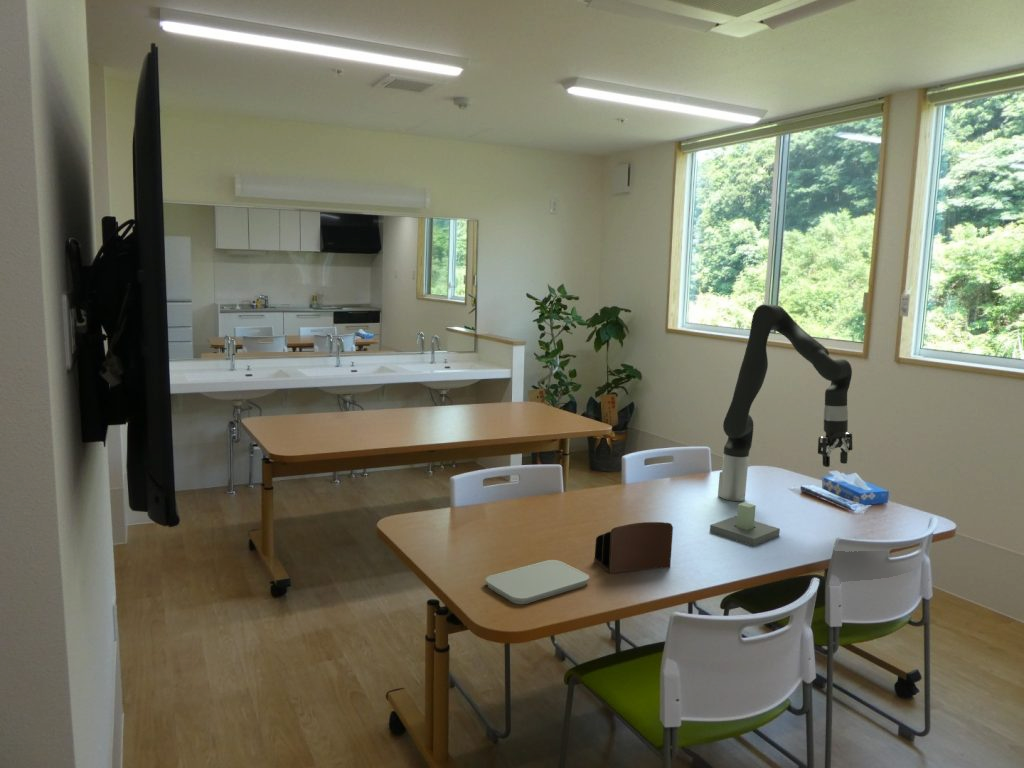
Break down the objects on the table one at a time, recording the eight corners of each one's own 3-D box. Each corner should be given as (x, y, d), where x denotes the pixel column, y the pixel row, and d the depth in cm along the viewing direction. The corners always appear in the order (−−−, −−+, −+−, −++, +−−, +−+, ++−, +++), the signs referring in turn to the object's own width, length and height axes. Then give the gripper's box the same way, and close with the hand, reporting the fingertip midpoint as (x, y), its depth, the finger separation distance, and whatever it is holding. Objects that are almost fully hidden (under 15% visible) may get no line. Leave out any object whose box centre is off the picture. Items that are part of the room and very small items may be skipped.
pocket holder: (709, 532, 246) (710, 524, 246) (736, 522, 257) (736, 515, 257) (753, 546, 235) (754, 538, 234) (779, 535, 245) (779, 528, 245)
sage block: (735, 533, 246) (738, 504, 245) (742, 531, 249) (744, 502, 247) (746, 537, 243) (749, 507, 242) (753, 534, 246) (755, 505, 244)
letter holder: (670, 567, 215) (674, 521, 213) (609, 574, 209) (612, 526, 206) (653, 555, 224) (656, 510, 222) (593, 561, 218) (596, 515, 216)
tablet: (480, 586, 198) (480, 578, 198) (554, 565, 214) (554, 558, 214) (518, 609, 185) (518, 600, 185) (593, 585, 201) (594, 577, 201)
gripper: (840, 414, 260) (840, 460, 262) (811, 418, 254) (811, 465, 255) (859, 417, 253) (858, 464, 255) (830, 421, 247) (829, 469, 249)
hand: (834, 464), depth 255 cm, fingers open, 8 cm apart
